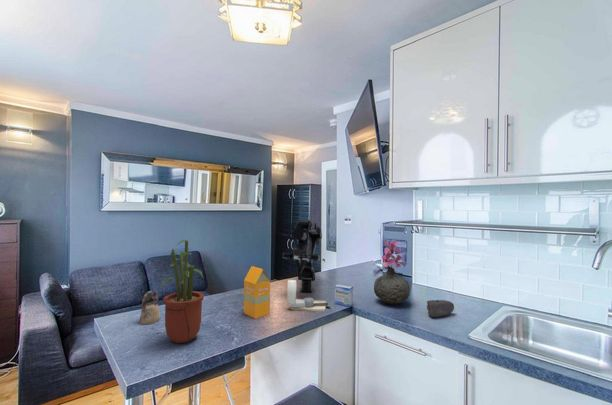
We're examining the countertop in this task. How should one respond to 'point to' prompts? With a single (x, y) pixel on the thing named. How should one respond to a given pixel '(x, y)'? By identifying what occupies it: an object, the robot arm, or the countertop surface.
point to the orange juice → (256, 293)
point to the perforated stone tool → (439, 308)
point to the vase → (391, 279)
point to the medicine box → (343, 295)
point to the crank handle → (292, 297)
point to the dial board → (315, 308)
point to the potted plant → (183, 303)
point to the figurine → (149, 308)
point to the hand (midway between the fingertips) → (299, 274)
